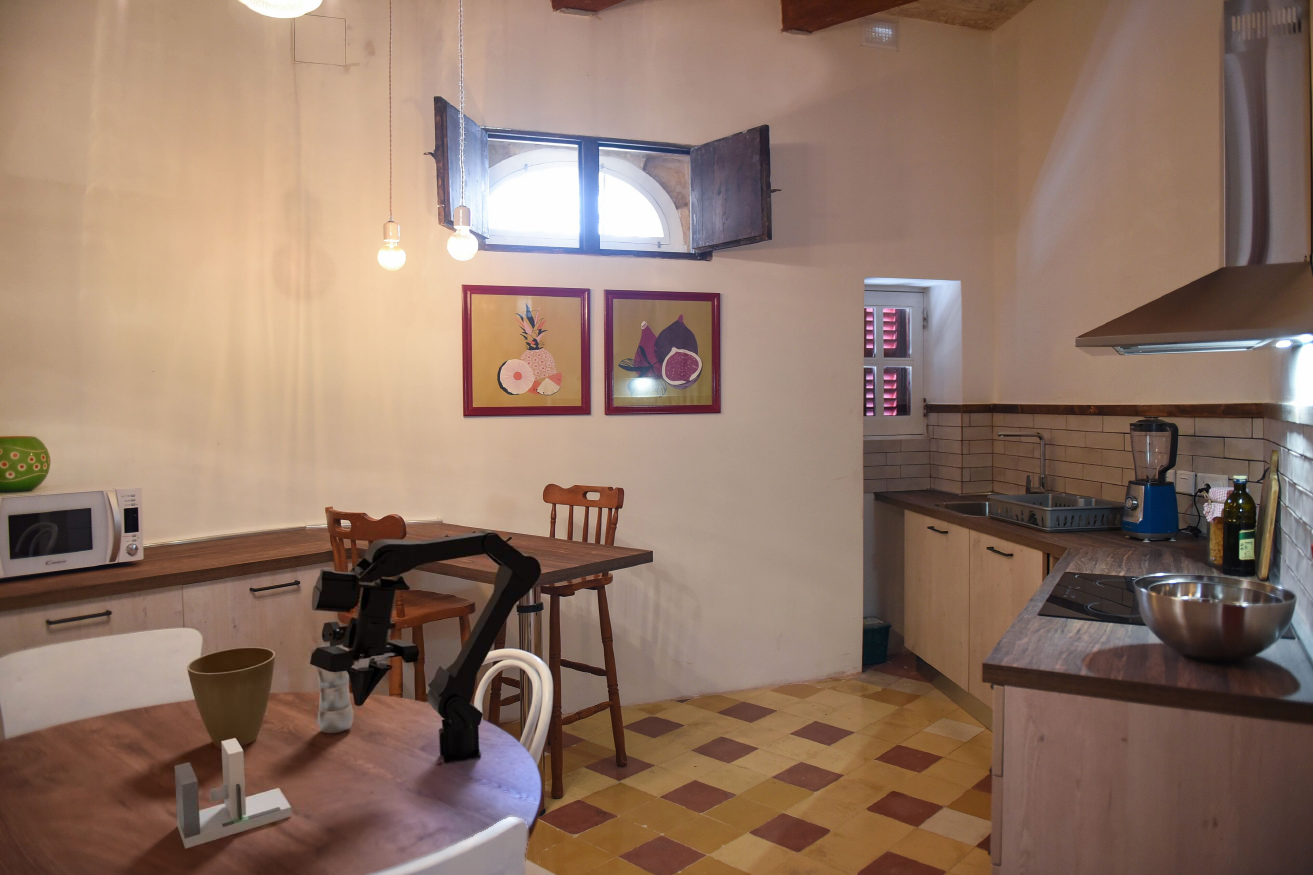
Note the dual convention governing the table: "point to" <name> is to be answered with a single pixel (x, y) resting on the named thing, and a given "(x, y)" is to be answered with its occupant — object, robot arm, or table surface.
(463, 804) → the table surface
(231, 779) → the cream upright slab
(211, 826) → the base
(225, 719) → the plant pot
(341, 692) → the plastic bottle
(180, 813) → the brushed steel plate
